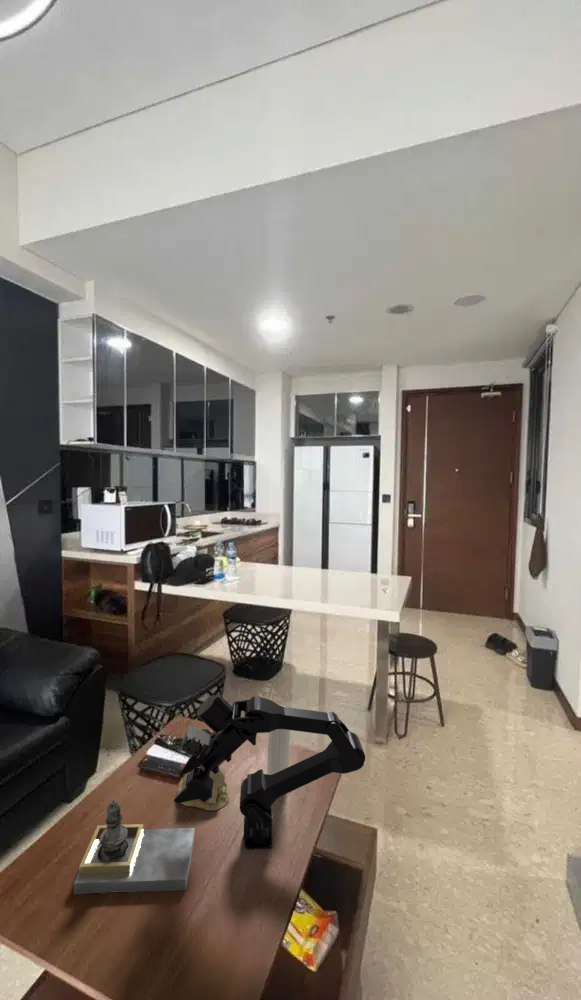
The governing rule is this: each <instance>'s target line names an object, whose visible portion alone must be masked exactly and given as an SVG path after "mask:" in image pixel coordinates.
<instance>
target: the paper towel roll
mask: <svg viewBox="0 0 581 1000" xmlns="http://www.w3.org/2000/svg"><path fill="white" fill-rule="evenodd" d="M282 706H283V707H286V706H284V705H282ZM290 733H291V730H285V729H276V730H274V731H271V732H269V733H268V738H267V739H268V745H267V768H266V769H267V770H266V771H267V772H266V774H268V775H272V774H275V773H277V772H279V771H281V770H283V769H286V768H288V767H289V763H290V761H289V760H290V759H289V758H290V757H289V756H290V755H289V754H290Z"/></svg>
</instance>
